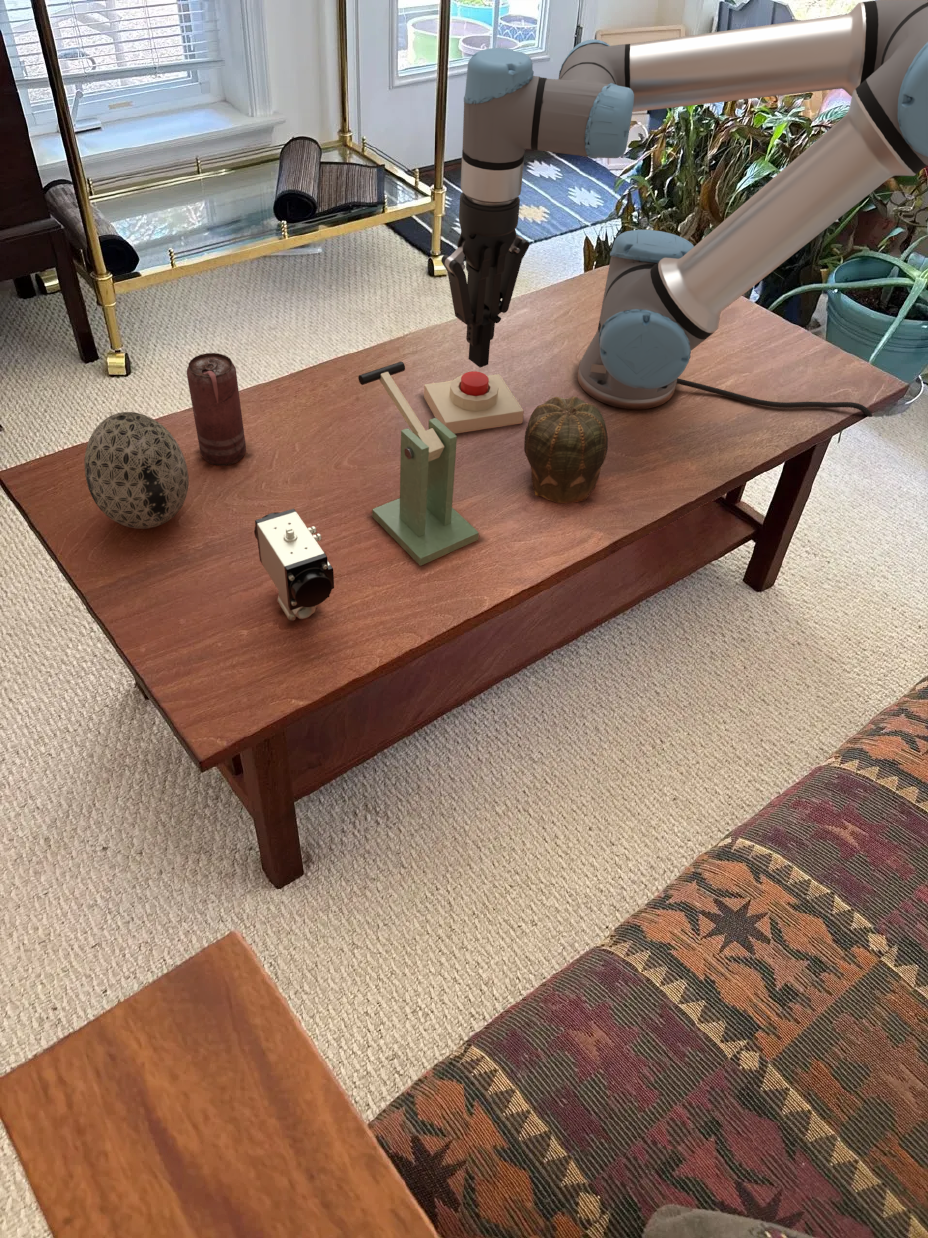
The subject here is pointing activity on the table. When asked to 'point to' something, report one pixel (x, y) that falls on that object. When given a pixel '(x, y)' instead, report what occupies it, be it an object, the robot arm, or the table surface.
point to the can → (216, 408)
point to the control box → (473, 405)
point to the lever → (404, 406)
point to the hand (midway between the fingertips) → (478, 361)
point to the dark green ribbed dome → (565, 449)
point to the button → (474, 383)
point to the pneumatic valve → (294, 562)
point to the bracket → (426, 500)
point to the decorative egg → (135, 471)
